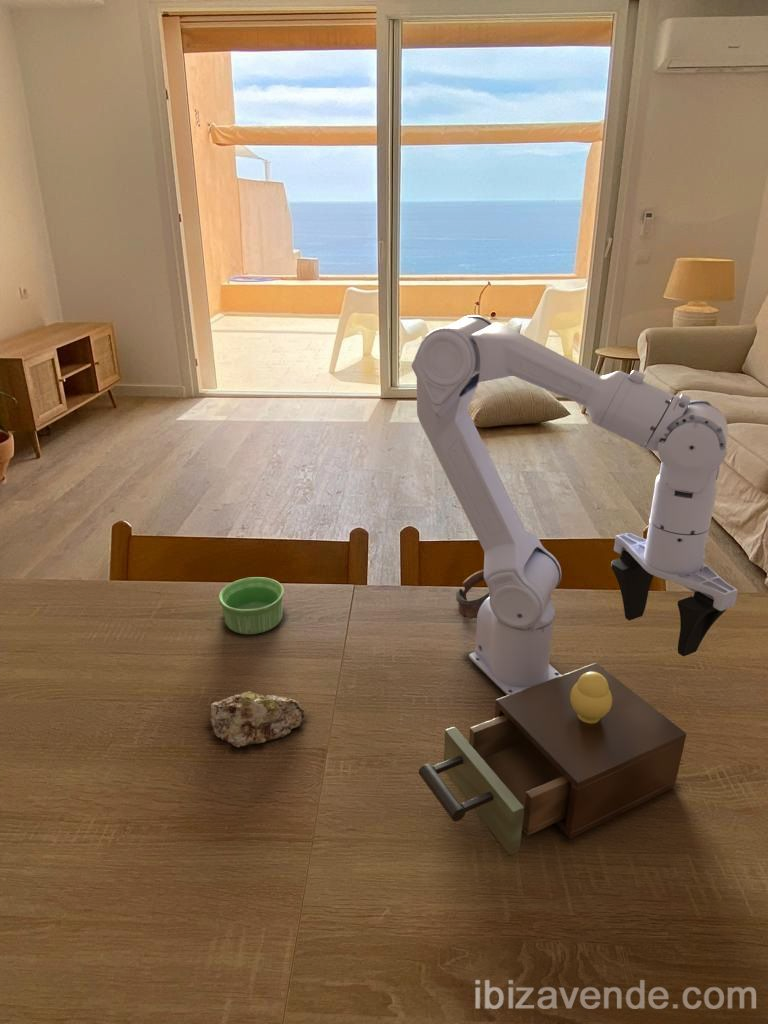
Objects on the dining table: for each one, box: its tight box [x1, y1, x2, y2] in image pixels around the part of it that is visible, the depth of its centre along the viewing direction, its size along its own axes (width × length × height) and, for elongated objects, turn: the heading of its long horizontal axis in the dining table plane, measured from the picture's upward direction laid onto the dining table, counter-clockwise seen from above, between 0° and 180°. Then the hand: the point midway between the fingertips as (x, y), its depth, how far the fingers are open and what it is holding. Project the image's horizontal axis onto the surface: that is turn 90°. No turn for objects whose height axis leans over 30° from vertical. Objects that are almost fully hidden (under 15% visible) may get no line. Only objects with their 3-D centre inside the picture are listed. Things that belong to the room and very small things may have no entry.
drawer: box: [418, 715, 572, 856], centre depth 67 cm, size 17×11×5 cm
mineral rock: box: [210, 690, 306, 748], centre depth 79 cm, size 11×4×8 cm
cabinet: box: [494, 662, 687, 839], centre depth 71 cm, size 14×13×7 cm
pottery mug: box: [455, 569, 489, 619], centre depth 98 cm, size 12×10×8 cm
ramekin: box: [218, 576, 285, 635], centre depth 98 cm, size 9×9×4 cm
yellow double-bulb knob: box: [570, 672, 612, 723], centre depth 69 cm, size 4×4×5 cm
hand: (659, 633), depth 77 cm, fingers open, 7 cm apart
